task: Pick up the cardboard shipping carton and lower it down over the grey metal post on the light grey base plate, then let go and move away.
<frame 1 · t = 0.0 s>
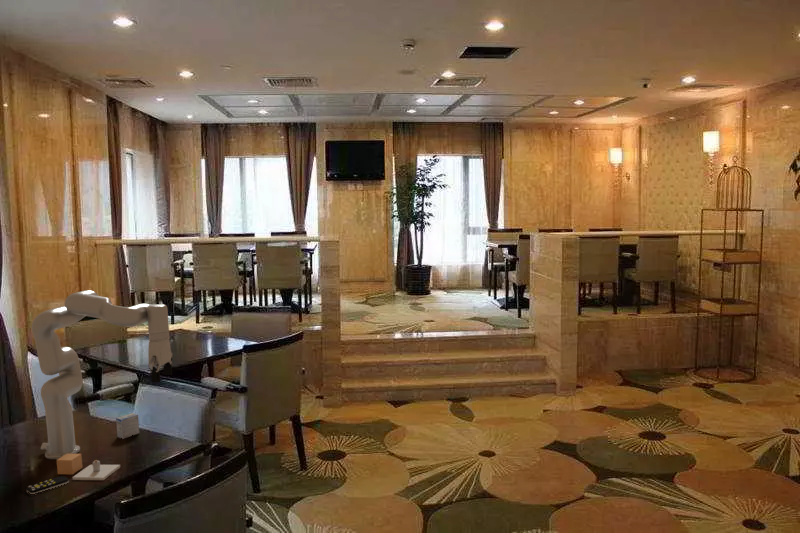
hand: (162, 378, 243), 31 cm above the table, tool pointing down, fingers open, 9 cm apart
remote control: (48, 488, 221), on the table
medicine box: (128, 435, 269), on the table
post base: (97, 473, 230), on the table
cardboard shipping carton: (70, 470, 234), on the table
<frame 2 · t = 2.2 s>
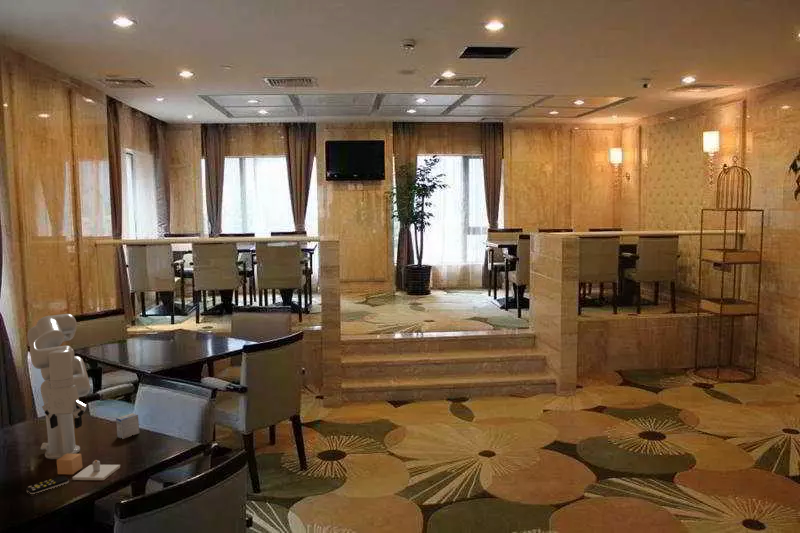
hand: (66, 427, 232), 17 cm above the table, tool pointing down, fingers open, 9 cm apart
nothing on the table moved.
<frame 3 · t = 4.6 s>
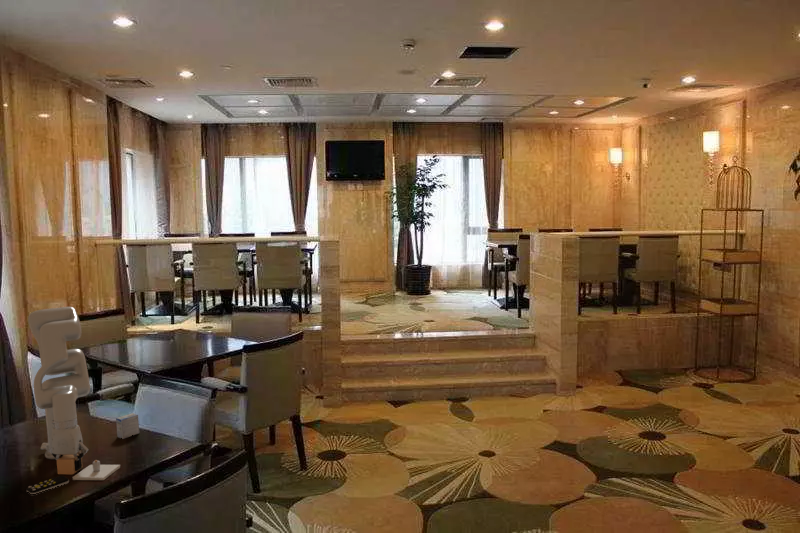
hand: (70, 468, 234), 1 cm above the table, tool pointing down, fingers closed on cardboard shipping carton, 5 cm apart
cardboard shipping carton: (70, 470, 234), on the table, touching gripper
everything else where it was.
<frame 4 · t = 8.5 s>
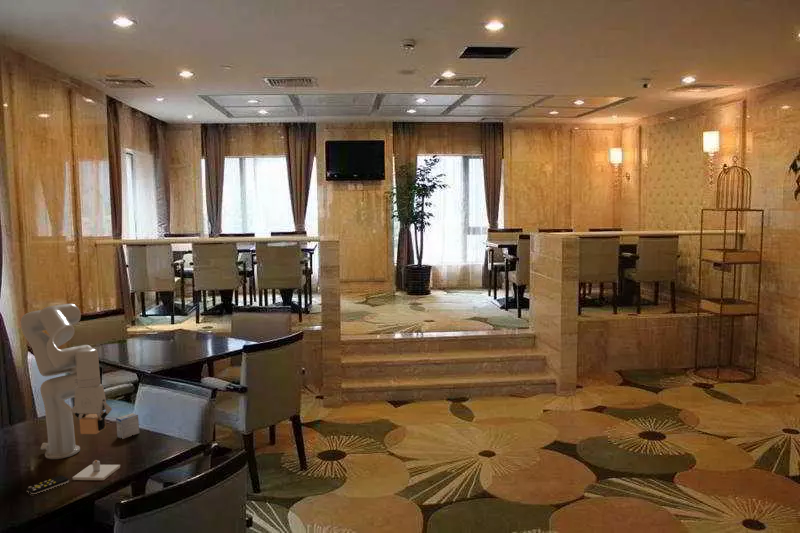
hand: (93, 428, 229), 17 cm above the table, tool pointing down, fingers closed on cardboard shipping carton, 5 cm apart
cardboard shipping carton: (93, 431, 229), point 17 cm above the table, touching gripper
everything else where it was.
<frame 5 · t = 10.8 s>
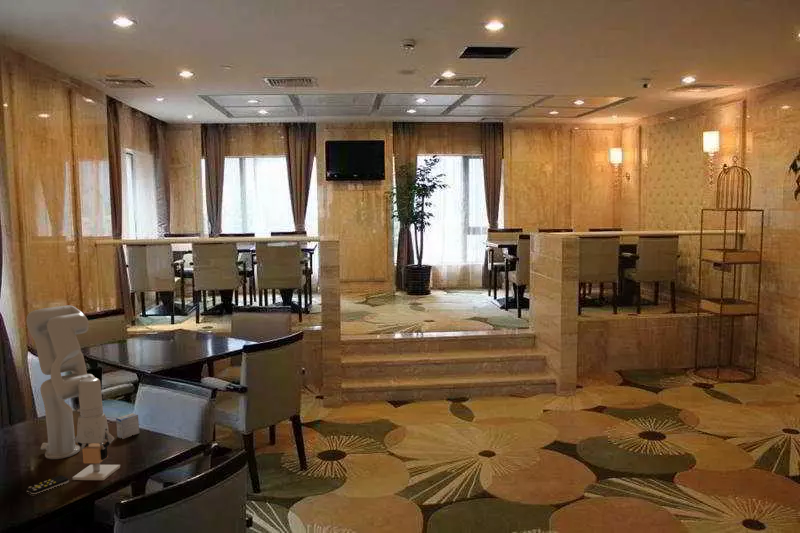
hand: (95, 458, 230), 6 cm above the table, tool pointing down, fingers closed on cardboard shipping carton, 5 cm apart
cardboard shipping carton: (96, 460, 230), point 5 cm above the table, touching gripper
everything else where it was.
when the fingers open (4 cm above the table, at t = 12.7 s): cardboard shipping carton drops 2 cm, resting on post base.
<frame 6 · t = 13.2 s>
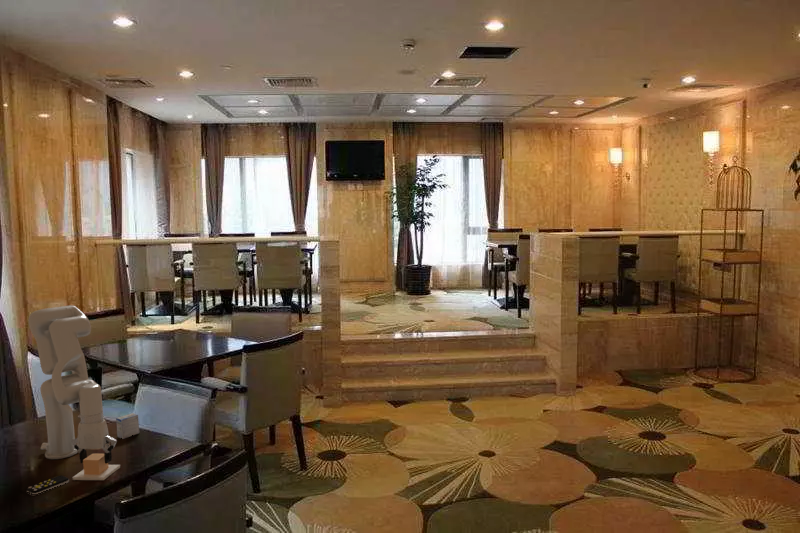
hand: (96, 461, 230), 5 cm above the table, tool pointing down, fingers open, 9 cm apart
cardboard shipping carton: (96, 470, 230), point 1 cm above the table, touching post base
everything else where it was.
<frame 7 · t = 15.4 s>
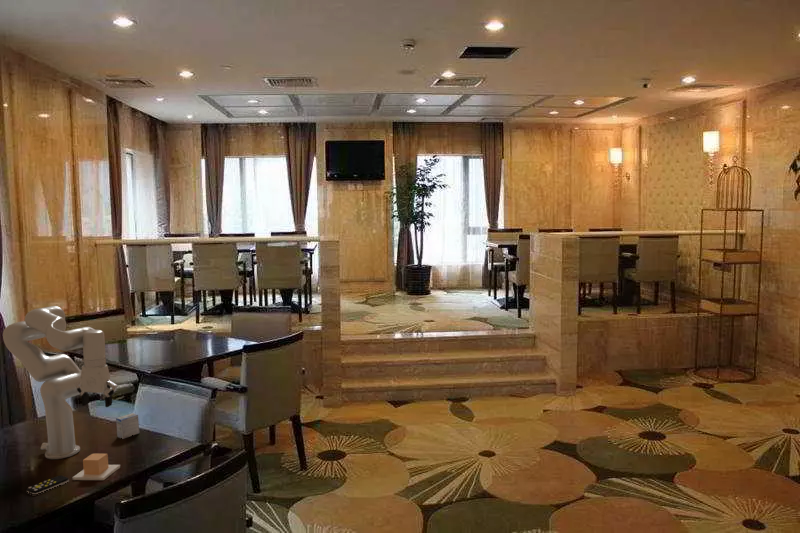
hand: (97, 405, 238), 23 cm above the table, tool pointing down, fingers open, 9 cm apart
nothing on the table moved.
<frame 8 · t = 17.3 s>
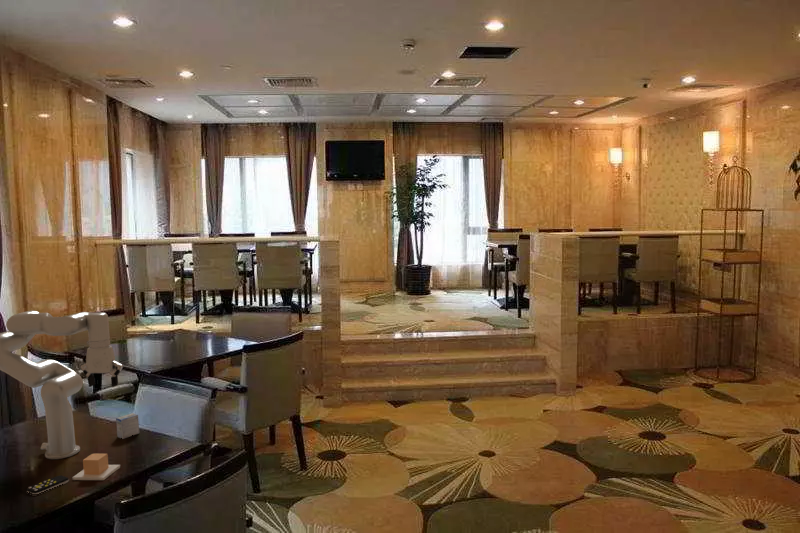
hand: (103, 385, 246), 28 cm above the table, tool pointing down, fingers open, 9 cm apart
nothing on the table moved.
at the end: cardboard shipping carton 0.1 cm off-centre on the post base, point 1.0 cm above the post base's base; cardboard shipping carton tilted 0°; the gripper is holding nothing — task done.
